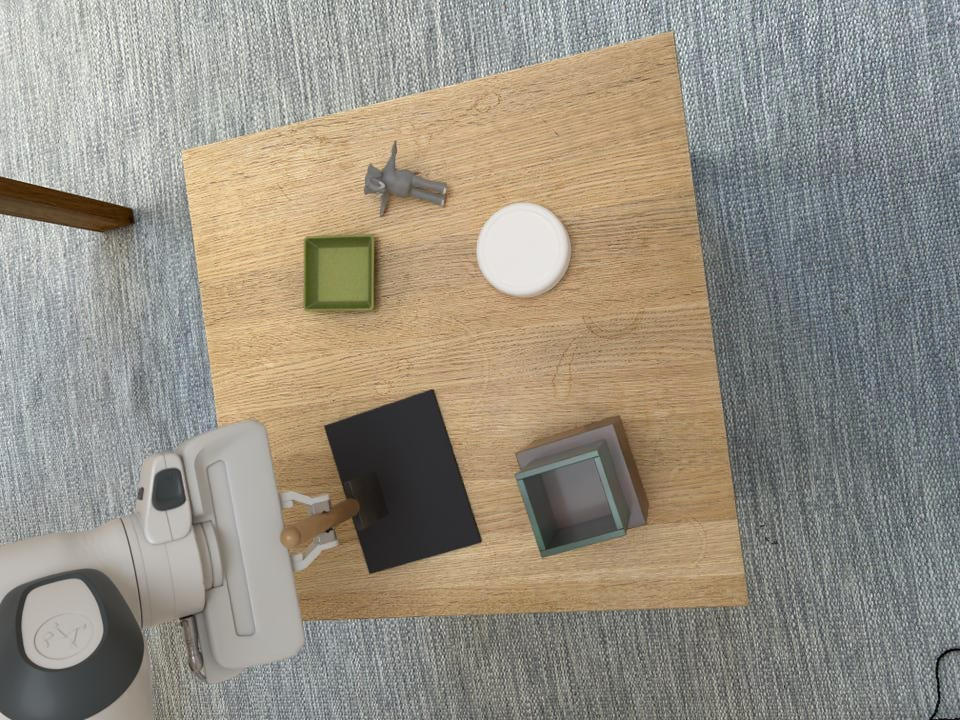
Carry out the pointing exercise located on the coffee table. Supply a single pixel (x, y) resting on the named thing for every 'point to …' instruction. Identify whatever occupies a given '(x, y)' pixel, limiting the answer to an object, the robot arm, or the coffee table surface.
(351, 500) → the spatula
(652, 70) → the coffee table surface
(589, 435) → the open box
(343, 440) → the mat
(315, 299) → the green square dish
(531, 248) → the white round tub
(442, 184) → the elephant figurine
